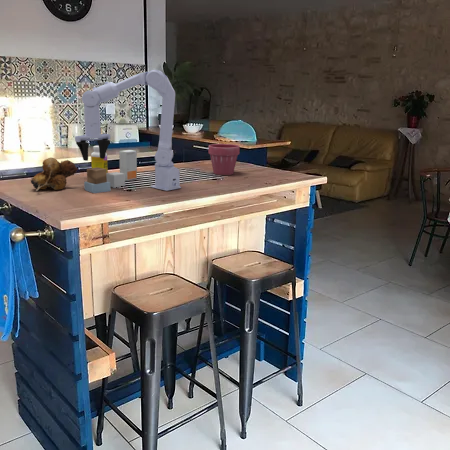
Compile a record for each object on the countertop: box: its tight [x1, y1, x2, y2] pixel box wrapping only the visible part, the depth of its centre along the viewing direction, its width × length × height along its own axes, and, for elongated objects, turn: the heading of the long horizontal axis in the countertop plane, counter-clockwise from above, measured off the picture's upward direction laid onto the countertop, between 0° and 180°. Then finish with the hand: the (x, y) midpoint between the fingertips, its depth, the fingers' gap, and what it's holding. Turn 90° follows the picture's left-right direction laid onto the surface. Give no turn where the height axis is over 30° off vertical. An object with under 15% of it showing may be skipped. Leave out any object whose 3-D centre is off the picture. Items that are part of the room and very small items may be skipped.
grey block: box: [106, 171, 126, 189], centre depth 196 cm, size 5×5×5 cm
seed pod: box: [30, 157, 79, 192], centre depth 187 cm, size 13×16×15 cm
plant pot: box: [207, 143, 241, 176], centre depth 227 cm, size 14×14×13 cm
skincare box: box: [118, 149, 138, 182], centre depth 208 cm, size 6×4×12 cm
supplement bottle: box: [90, 145, 109, 173], centre depth 212 cm, size 7×7×13 cm
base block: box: [83, 180, 112, 194], centre depth 187 cm, size 7×7×4 cm
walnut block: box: [86, 167, 107, 184], centre depth 186 cm, size 5×5×5 cm
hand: (94, 159), depth 192 cm, fingers open, 7 cm apart
